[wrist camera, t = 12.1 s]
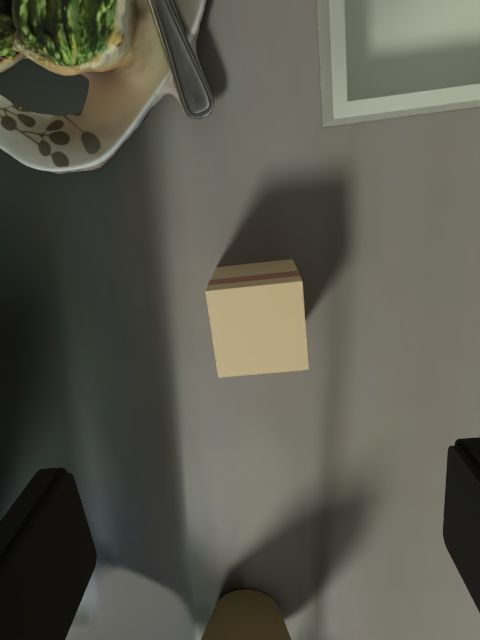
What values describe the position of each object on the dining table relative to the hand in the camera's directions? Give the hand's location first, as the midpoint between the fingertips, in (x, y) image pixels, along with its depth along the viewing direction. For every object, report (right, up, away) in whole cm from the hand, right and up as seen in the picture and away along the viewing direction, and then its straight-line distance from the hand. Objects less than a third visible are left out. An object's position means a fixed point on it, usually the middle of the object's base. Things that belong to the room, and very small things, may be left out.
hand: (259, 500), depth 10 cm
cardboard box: (+1, +6, +17) cm, 18 cm away
